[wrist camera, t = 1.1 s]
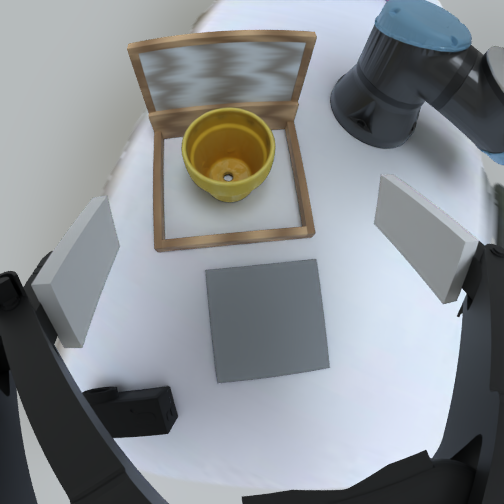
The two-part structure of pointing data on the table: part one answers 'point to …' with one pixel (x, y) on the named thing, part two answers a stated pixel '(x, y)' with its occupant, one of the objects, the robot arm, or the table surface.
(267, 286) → the mat
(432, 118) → the table surface
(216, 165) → the plant pot
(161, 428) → the digital camera
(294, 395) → the table surface
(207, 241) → the cold frame
